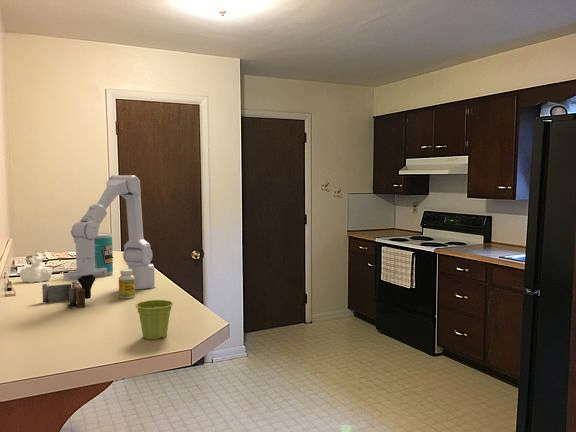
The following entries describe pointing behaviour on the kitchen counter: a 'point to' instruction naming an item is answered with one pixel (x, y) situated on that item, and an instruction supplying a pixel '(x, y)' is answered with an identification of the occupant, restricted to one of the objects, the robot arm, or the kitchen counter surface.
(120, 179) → the robot arm
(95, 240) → the food can
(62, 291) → the fence
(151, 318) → the plant pot
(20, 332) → the kitchen counter surface
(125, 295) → the supplement bottle
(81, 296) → the brown wooden block
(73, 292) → the latch post
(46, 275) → the bust
